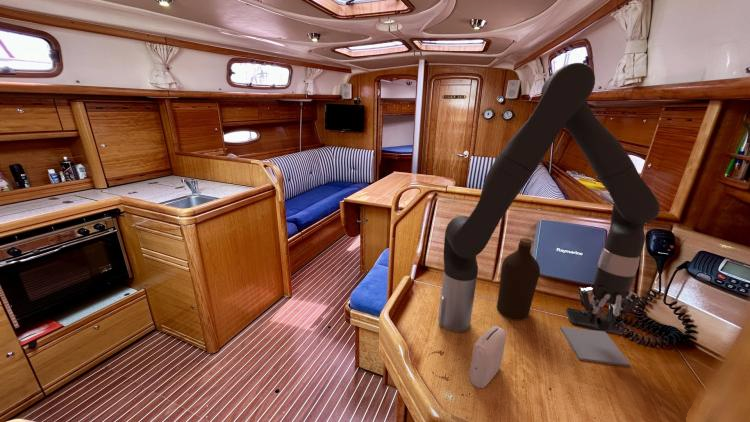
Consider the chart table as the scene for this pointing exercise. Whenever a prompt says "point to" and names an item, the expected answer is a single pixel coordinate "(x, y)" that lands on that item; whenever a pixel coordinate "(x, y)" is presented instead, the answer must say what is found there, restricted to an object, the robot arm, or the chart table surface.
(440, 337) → the chart table surface
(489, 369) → the photo printer
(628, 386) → the chart table surface
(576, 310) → the phone
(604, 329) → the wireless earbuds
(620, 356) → the mat
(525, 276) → the olive oil
